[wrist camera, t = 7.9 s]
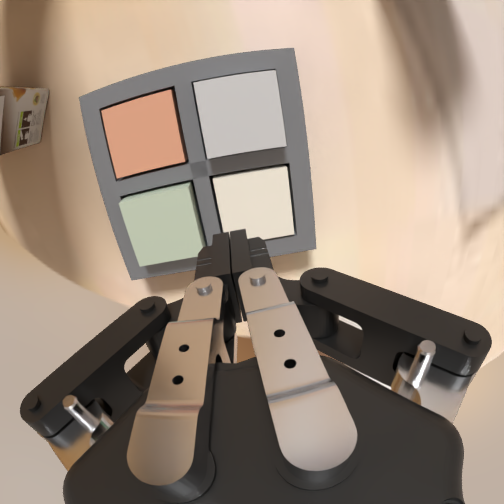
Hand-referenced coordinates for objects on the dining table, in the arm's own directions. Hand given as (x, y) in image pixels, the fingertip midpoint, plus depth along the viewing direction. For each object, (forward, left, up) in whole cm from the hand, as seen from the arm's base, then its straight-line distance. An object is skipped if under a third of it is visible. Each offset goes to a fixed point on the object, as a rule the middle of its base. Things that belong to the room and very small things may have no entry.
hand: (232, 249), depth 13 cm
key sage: (+3, -7, -14) cm, 15 cm away
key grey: (-6, +2, -14) cm, 15 cm away
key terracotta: (-6, -7, -15) cm, 17 cm away
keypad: (-2, -2, -16) cm, 16 cm away
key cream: (+3, +2, -15) cm, 15 cm away
